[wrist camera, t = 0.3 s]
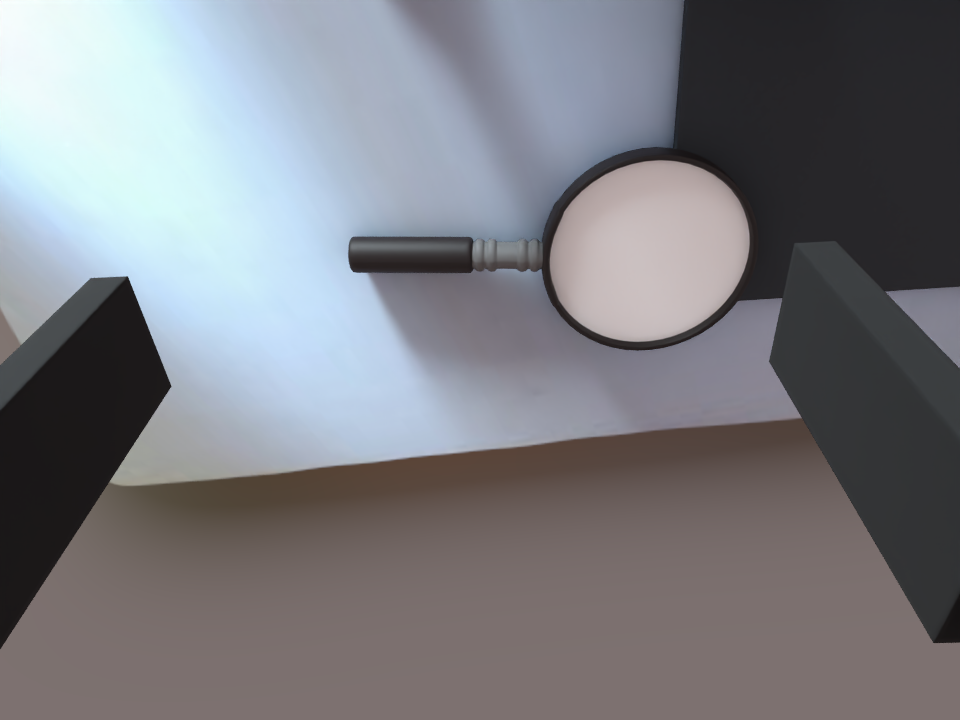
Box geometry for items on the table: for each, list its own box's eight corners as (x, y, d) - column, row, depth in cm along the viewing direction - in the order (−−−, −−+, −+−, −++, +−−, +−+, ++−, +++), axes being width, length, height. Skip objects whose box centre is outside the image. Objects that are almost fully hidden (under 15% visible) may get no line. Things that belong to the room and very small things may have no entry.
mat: (685, -15, 35) (689, -14, 34) (1179, -58, 33) (1194, -57, 33) (661, 299, 44) (664, 305, 44) (1044, 275, 43) (1053, 280, 43)
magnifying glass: (342, 146, 39) (334, 157, 37) (770, 144, 38) (782, 155, 36) (366, 333, 46) (359, 350, 44) (729, 337, 45) (738, 354, 43)
